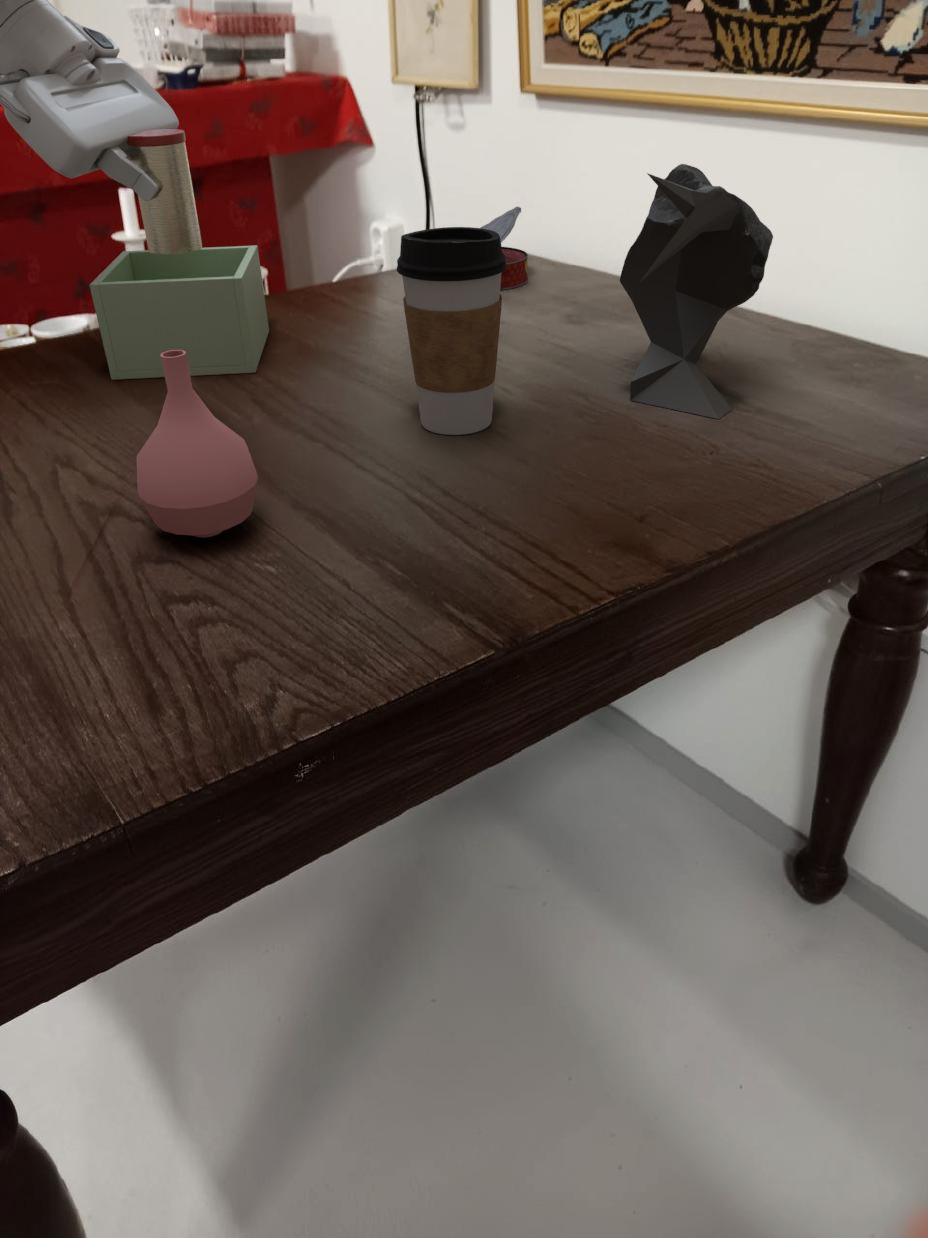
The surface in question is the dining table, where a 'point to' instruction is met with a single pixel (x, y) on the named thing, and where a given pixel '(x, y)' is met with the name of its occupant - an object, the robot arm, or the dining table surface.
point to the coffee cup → (453, 323)
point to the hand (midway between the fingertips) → (170, 188)
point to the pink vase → (193, 463)
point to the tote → (182, 311)
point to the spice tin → (167, 192)
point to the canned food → (510, 251)
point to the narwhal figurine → (690, 284)
